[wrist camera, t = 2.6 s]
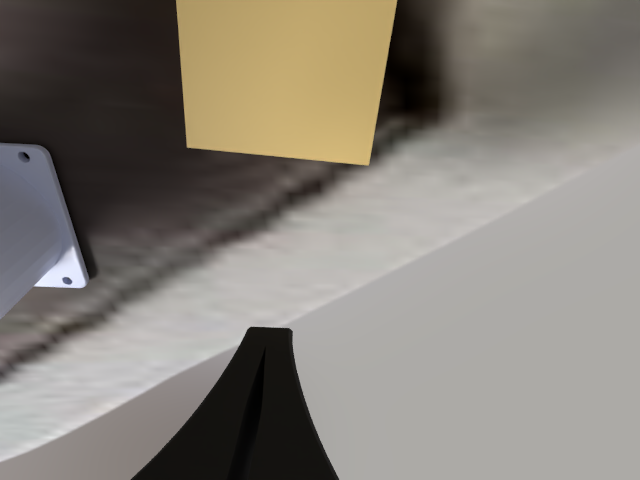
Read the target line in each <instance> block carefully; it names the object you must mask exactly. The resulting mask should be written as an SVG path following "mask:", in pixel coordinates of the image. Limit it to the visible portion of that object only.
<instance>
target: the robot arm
mask: <svg viewBox="0 0 640 480" xmlns="http://www.w3.org/2000/svg"><path fill="white" fill-rule="evenodd" d="M23 152H25V153H27V154H28V155H29V157H30V159H27V158H26V157H25V156H24V154H23ZM67 277H68V278H70V279H71V280H69V279H68V278H67ZM88 282H89V276H88V273H87V270H86V267H85V263H84V260H83V257H82V254H81V251H80V248H79V244H78V241H77V238H76V235H75V232H74V229H73V225H72V222H71V219H70V216H69V213H68V209H67V206H66V203H65V200H64V197H63V194H62V190H61V187H60V184H59V181H58V178H57V175H56V171H55V168H54V165H53V162H52V159H51V156H50V154H49V152H48V151H47V150H46V149H45V148H44V147H42V146H40V145H35V144H12V143H0V319H1V318H2V317H3V316H4V315H5V314H6V313H7V312H8V311H9V310H10V309H11V308H12V307H13V306H14V305H15V304H16V303H17V302H18V301H19V300H20V299H21V298H22V297H23V296H24V295H25V294H26V293H27V292H28V291H29V290H30V289H31V288H32V287H33V286H42V287H68V288H83V287H85V286H86V285H87V283H88ZM292 333H293V331H292V330H291V329H289V328H269V327H250V328H249V329H248V330H247V332H246V334H245V336H244V338H243V340H242V342H241V344H240V346H239V347H238V350H237V351H236V353H235V354H234V356H233V358H232V360H231V361H230V363H229V364H228V366H227V368H226V369H225V370H224V372H223V374H222V375H221V377H220V378H219V380H218V381H217V383H216V384H215V385H214V387H213V388H212V390H211V391H210V392H209V394H208V395H207V396H206V398H205V399H204V400H203V402H202V403H201V405H200V406H199V407H198V409H197V410H196V411H195V412H194V413H193V415H192V416H191V417H190V418H189V420H188V421H187V422H186V423H185V424H184V425H183V426H182V428H181V429H180V430H179V431H178V432H177V433H176V434H175V436H174V437H173V438H172V439H171V440H170V441H169V442H168V443H167V444H166V445H165V446H164V448H162V450H161V451H160V452H159V453H158V454H157V455H156V456H155V457H154V458H153V459H152V460H151V461H150V462H149V463H148V464H147V465H146V466H145V467H143V468H142V469H141V470H140V471H139V472H138V473H137V474H136V475H135V476H134V477H133V478H132V479H131V480H339V478H338V476H337V475H336V472H335V470H334V468H333V466H332V464H331V462H330V460H329V458H328V457H327V454H326V452H325V450H324V448H323V445H322V443H321V441H320V439H319V436H318V434H317V431H316V429H315V427H314V424H313V421H312V419H311V417H310V413H309V410H308V407H307V405H306V402H305V398H304V395H303V392H302V389H301V385H300V381H299V377H298V373H297V370H296V365H295V359H294V353H293V345H292V336H293V335H292Z"/></svg>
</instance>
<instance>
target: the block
mask: <svg viewBox="0 0 640 480" xmlns="http://www.w3.org/2000/svg"><path fill="white" fill-rule="evenodd" d="M176 4H177V18H178V32H179V45H180V59H181V72H182V86H183V100H184V113H185V127H186V140H187V148H197V149H207V150H217V151H227V152H238V153H248V154H258V155H268V156H278V157H289V158H299V159H309V160H319V161H329V162H339V163H350V164H360V165H369V161H370V155H371V149H372V143H373V138H374V132H375V126H376V120H377V114H378V109H379V103H380V97H381V91H382V85H383V80H384V74H385V68H386V62H387V57H388V51H389V45H390V39H391V33H392V28H393V22H394V16H395V10H396V4H397V0H176Z"/></svg>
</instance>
